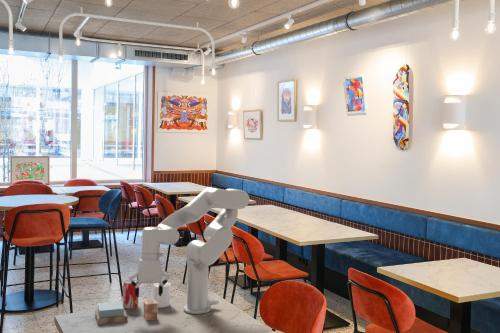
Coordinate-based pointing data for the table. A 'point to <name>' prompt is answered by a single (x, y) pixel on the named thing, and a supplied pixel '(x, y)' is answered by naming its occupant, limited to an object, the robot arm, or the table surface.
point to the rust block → (150, 310)
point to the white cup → (162, 295)
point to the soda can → (129, 295)
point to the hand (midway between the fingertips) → (148, 295)
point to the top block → (110, 309)
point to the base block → (110, 318)
